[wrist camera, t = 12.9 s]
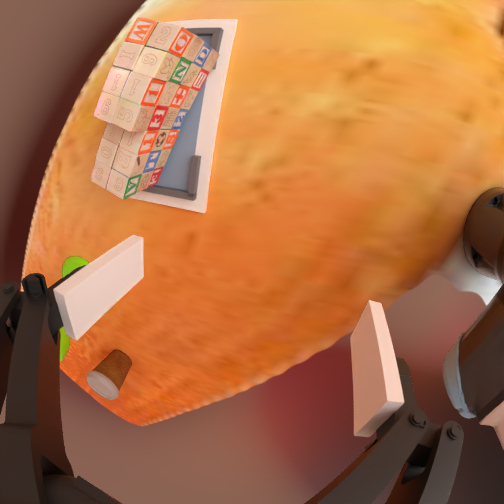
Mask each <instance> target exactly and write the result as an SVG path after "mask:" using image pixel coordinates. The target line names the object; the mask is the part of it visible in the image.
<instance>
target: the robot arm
mask: <svg viewBox="0 0 504 504" xmlns="http://www.w3.org/2000/svg"><path fill="white" fill-rule="evenodd" d="M464 250H465V254H466V257H467V259H468V261H469V262H470V264H471V265H472V266H473V267H474V268H475V269H476V270H477V271H478V272H479V273H481V274H482V275H485V276H487V277H490V278H493V279H495V280H498V281H501V282H502V283H503V285H502V286H501V288H500V289H499V291H498V292H497V293H496V294H495V296H494V297H493V299H492V300H491V301H490V303H489V304H488V305H487V306H486V308H485V309H484V311H483V312H482V313H481V314H480V315H479V317H478V318H477V319H476V320H475V321H474V322H473V324H472V325H471V326H470V327H469V328H468V329H467V330H466V331H465V332H464V333H462V334H461V336H460V337H459V339H458V341H457V342H456V343H455V344H454V345H453V347H452V348H451V349H450V350H449V351H448V353H447V354H446V356H445V359H444V365H443V377H444V383H445V386H446V390H447V393H448V395H449V398H450V400H451V402H452V404H453V405H454V407H455V408H456V409H458V410H459V413H460V414H461V415H462V416H463V417H465V418H472V417H476V416H477V418H478V420H479V422H480V424H481V425H491V426H493V427H494V428H495V430H496V433H497V435H498V437H499V440H500V442H501V444H502V447H503V449H504V188H493V189H490V190H488V191H486V192H485V193H484V194H482V195H481V196H480V197H479V198H478V200H477V201H476V202H475V204H474V205H473V207H472V209H471V211H470V213H469V215H468V218H467V221H466V224H465V229H464ZM143 277H144V266H143V237H139V236H136V235H132V236H130V237H129V238H127V239H126V240H124V241H122V242H121V243H119V244H118V245H116V246H115V247H113V248H112V249H110V250H109V251H107V252H106V253H104V254H103V255H101V256H100V257H98V258H97V259H95V260H94V261H92V262H91V263H89V264H88V265H84V266H81V267H78V268H76V269H74V270H73V271H72V272H70V274H67V275H66V276H65V277H63V278H62V279H60V280H59V281H57V282H56V283H55V284H53V285H52V286H51V287H49V288H48V289H47V285H46V281H45V277H44V276H43V275H42V274H40V273H33V274H30V275H27V276H26V277H25V278H23V280H22V281H21V282H22V286H23V289H24V292H22V291H20V289H19V285H18V284H17V283H16V282H14V281H11V282H6V283H5V284H3V285H2V286H1V287H0V414H1V410H2V407H3V403H4V400H5V396H6V393H7V399H6V416H5V422H4V424H0V504H122V503H120V502H119V501H117V500H116V499H114V498H112V497H111V496H109V495H108V494H106V493H105V492H103V491H102V490H100V489H98V488H97V487H95V486H94V485H92V484H90V483H89V482H87V481H86V480H84V479H83V478H81V477H80V476H78V477H77V478H75V477H74V474H73V471H72V467H71V464H70V463H69V460H68V458H67V456H66V453H65V447H64V440H63V432H62V421H61V409H60V387H59V385H60V384H59V365H60V340H61V333H60V329H61V328H62V327H63V326H64V329H65V332H66V335H68V336H69V337H71V338H72V339H74V340H76V341H77V340H78V339H79V338H80V337H81V336H82V335H83V334H84V333H85V332H86V331H87V330H88V329H89V328H90V327H91V326H92V325H93V324H94V323H95V322H96V321H98V320H99V319H100V318H101V317H102V316H103V315H104V314H105V313H106V312H107V311H108V310H109V309H110V308H111V307H112V306H113V305H114V304H115V303H116V302H117V301H118V300H120V299H121V298H122V297H123V296H124V295H125V294H126V293H127V292H128V291H129V290H130V289H131V288H132V287H134V286H135V285H136V284H137V283H138V282H139V281H140V280H141V279H142V278H143ZM7 319H9V322H10V323H9V325H8V326H7V324H6V321H7ZM350 341H351V353H352V370H353V392H354V436H365V437H370V436H371V435H372V434H373V433H374V432H375V431H376V432H377V438H376V439H375V440H374V441H373V442H371V443H370V444H369V445H368V446H367V447H366V448H365V450H364V451H363V453H361V454H360V455H359V457H358V458H356V460H355V461H353V462H352V463H351V464H350V465H349V466H348V467H347V468H346V469H345V470H344V471H343V472H342V473H341V474H340V475H339V476H337V477H336V478H335V479H334V480H333V481H332V482H331V483H329V484H328V485H327V486H326V487H325V488H323V489H322V490H321V491H320V492H319V493H318V494H316V495H315V496H314V497H312V498H311V499H310V500H308V501H307V502H306V503H304V504H371V503H372V502H373V501H374V500H375V499H376V498H377V496H378V495H379V494H380V493H381V492H382V491H383V490H384V488H385V487H386V486H387V485H388V484H389V482H390V481H391V480H392V479H393V477H394V476H395V475H396V474H397V472H398V471H399V470H400V468H401V467H402V466H403V468H402V470H401V472H400V475H399V477H398V479H397V481H396V483H395V485H394V488H393V490H392V492H391V494H390V496H389V498H388V500H387V502H386V503H385V504H447V502H448V498H449V496H450V492H451V489H452V486H453V482H454V479H455V475H456V471H457V467H458V463H459V459H460V454H461V449H462V444H463V438H464V433H463V430H462V428H461V426H460V425H459V424H458V423H456V422H454V421H448V422H446V423H445V424H444V425H443V426H442V427H441V426H439V425H436V424H433V423H430V422H429V421H428V418H427V415H426V414H425V413H424V412H423V411H422V410H420V409H419V408H418V407H417V402H416V397H415V392H414V388H413V384H412V379H411V377H410V376H411V375H410V370H409V367H408V365H407V364H406V362H405V361H404V359H401V358H395V354H394V349H393V345H392V341H391V337H390V333H389V329H388V326H387V322H386V319H385V315H384V311H383V308H382V304H381V303H379V302H375V301H371V300H369V301H368V303H367V305H366V307H365V309H364V311H363V313H362V315H361V317H360V319H359V321H358V323H357V325H356V327H355V329H354V331H353V333H352V335H351V337H350ZM403 464H404V465H403Z"/></svg>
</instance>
